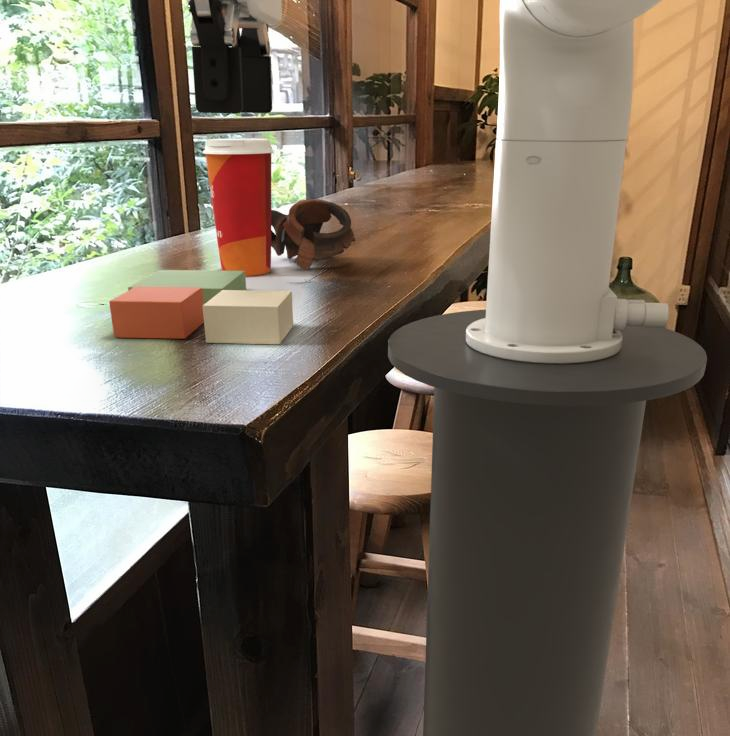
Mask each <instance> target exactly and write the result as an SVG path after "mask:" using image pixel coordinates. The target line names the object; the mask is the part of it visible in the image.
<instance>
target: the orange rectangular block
mask: <svg viewBox="0 0 730 736" xmlns="http://www.w3.org/2000/svg"><path fill="white" fill-rule="evenodd" d="M108 303H109V309H110V317H111V324H112V332H113V337H114V338H117V339H118V338H119V339H166V340H167V339H170V340H185V339H187V338H188V337H189V336H190V335H192V334H193V332H195V331H196V330H197V329H198V328H200V326H202V325H204V314H203V305H204V302H203V291H202V288H201V287H137V286H136V287H134V288H132V289H130V290H128V289H127V291H125V292H123V293H121V294H120V295H118V296H116V297H114V298H113V299H111V300H109V301H108Z"/></svg>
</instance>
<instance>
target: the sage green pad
mask: <svg viewBox="0 0 730 736" xmlns="http://www.w3.org/2000/svg"><path fill="white" fill-rule="evenodd" d="M136 286H137V287H201V288H202V291H203V302H204V304H205V303H207V302H208V301H209V300H210V299H212V298H213V297H214V296H216V295H217V294H218V293H219V292H221V291H222V290H247V282H246V276H245V271H222V270H207V269H205V270H203V269H202V270H200V269H199V270H198V269H159V270H157V271H155V272H153V273H151V274H150V275H147V276H146V277H144V278H142V279H141V280H139V281H137V282H135V283H133V284H131V285H130V286H128V287H127V291H128V290H130V289H132V288H134V287H136Z"/></svg>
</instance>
